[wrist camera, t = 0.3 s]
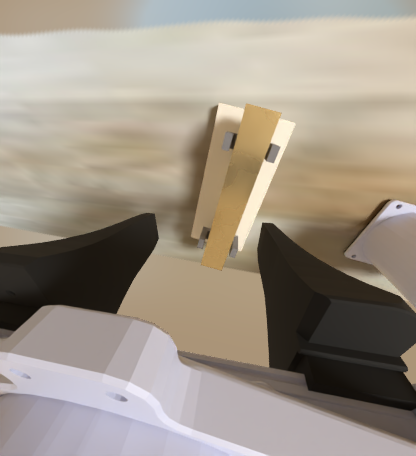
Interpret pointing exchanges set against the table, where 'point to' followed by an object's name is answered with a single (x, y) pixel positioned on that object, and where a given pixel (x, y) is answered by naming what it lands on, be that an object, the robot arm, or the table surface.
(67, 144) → the table surface
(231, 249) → the hook stand
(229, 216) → the wooden bar
